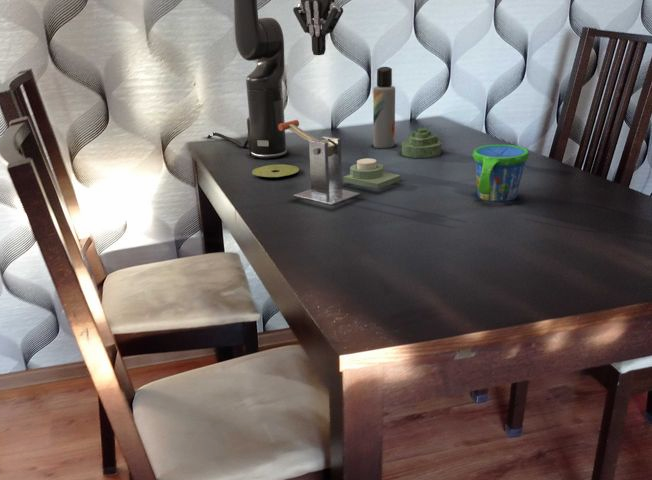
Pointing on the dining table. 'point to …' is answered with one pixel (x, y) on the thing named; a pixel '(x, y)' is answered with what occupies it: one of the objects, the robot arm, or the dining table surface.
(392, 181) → the control block
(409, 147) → the decorative artifact
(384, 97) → the lotion bottle
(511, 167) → the snack cup
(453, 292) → the dining table surface
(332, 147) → the lever
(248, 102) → the robot arm
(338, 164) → the bracket
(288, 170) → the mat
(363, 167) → the button
